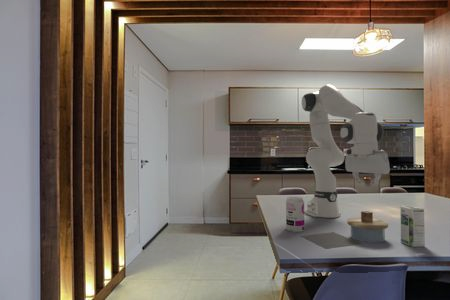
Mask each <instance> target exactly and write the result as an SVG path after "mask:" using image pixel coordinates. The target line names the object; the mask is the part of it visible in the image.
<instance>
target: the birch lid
mask: <svg viewBox="0 0 450 300" xmlns="http://www.w3.org/2000/svg"><path fill="white" fill-rule="evenodd" d="M373 214H374V213H373V211H369V210H365V211H364V210H363V211H360V217H349V218H348V219H346V223H347V225H349V226H350V227H351V226H354V227H358V228H363V229H388V228H389V223H388V222H387V221H386V220H381V219H376V218H373Z"/></svg>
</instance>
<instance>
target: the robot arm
mask: <svg viewBox="0 0 450 300" xmlns="http://www.w3.org/2000/svg"><path fill="white" fill-rule="evenodd" d="M301 107H302V110H303V111H305V112H307V113H308V112H309V127H310V132H311V133H310V134H311V139H312V141H313V142H314V143H315V144H316V145H317V146H318V147H316V148H312V149H310V150H308V151H307V153H306V155H305V160H306V163H307V164H308V165H309V166H310V167H311V169H312V171H313V174H314V177H315V191H313V194H314V195H313V197H312V198H311V199H310V200H309V201H308V202H307V205H306V206H307V208H304V214H307V215H309V216H310V217H315V218H316V217H318V218H331V219H332V218H339V217H340V215H341V212H340V207H339V199H337V198H338V191H337V178H336V176H335V175H334V174H333V172H332V171H331V168H332V167H337V166H340V165H342V164H343V163H345V164H344V166H345V171H346V172H350V173H351V172H352V176H353V178H354V182H355V183H356V184H357V183H358V184H359V183H361V181H362V179H361V178H360V177H359V174H360V173H361V174H362V173H363V174H365V173H366V174H374V175H373V177H374V180H372V181H371V182H372V186H379V185H380V182H379V181H380V180H381V177H382V175H388V174H389V173H390V171H391V169H390V161H389V155H388V153H387V152H386V151H385V150H383V149H381V150H379V142H381V140H383V138H384V135H385V129H384V128H383V126H382V125H381V123H379V122H378V121H377V116H376V114H375V113H373V112H365V111H364V110H362V109H361V108H360V106H357V105H356V104H355V103H353V102H352V101H350V100H348V99H347V98H346V97H345V96H344V95H343V94H342V93H341V92H340V90H339V89H337V88H336V87H335V86H334V85H331V84H326V85H323V86H321V87H320V89H319V90H318V91H316V92H309V93H306V94H304V95H303V96H302V97H301ZM329 116H332V117H336V118H345V119H348V120H349V121H348V122H345V123H343V124H342V125H341V127H340V129H339V138H340V139H341V141H342V142H343V143H345V144H350V145H351V144H353V146H351V147H350V148H348V149H346V150H345V151H344V152H345V153H344V152H343V151H342V150H341V149H340V148H339V147H338V145H337V144H336V142H335V139H334V138H333V134H332V129H331V123H330V119H329Z"/></svg>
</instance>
